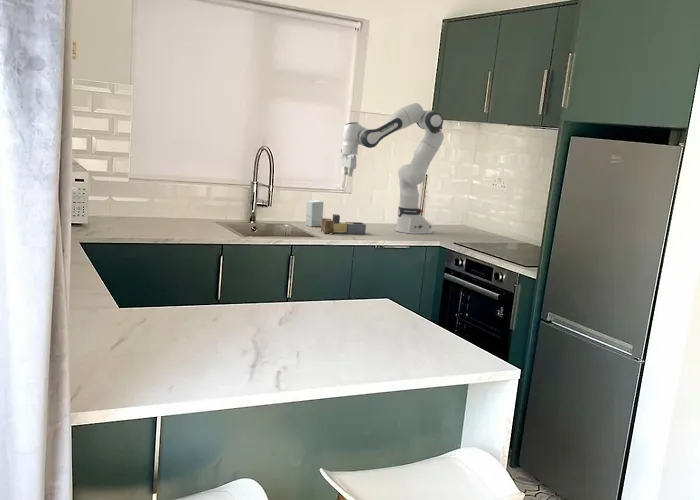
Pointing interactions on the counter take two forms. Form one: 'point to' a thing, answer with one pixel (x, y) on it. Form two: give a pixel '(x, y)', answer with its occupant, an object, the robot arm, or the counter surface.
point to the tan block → (339, 224)
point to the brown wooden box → (327, 225)
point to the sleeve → (356, 228)
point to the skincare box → (314, 213)
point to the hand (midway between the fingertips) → (348, 175)
